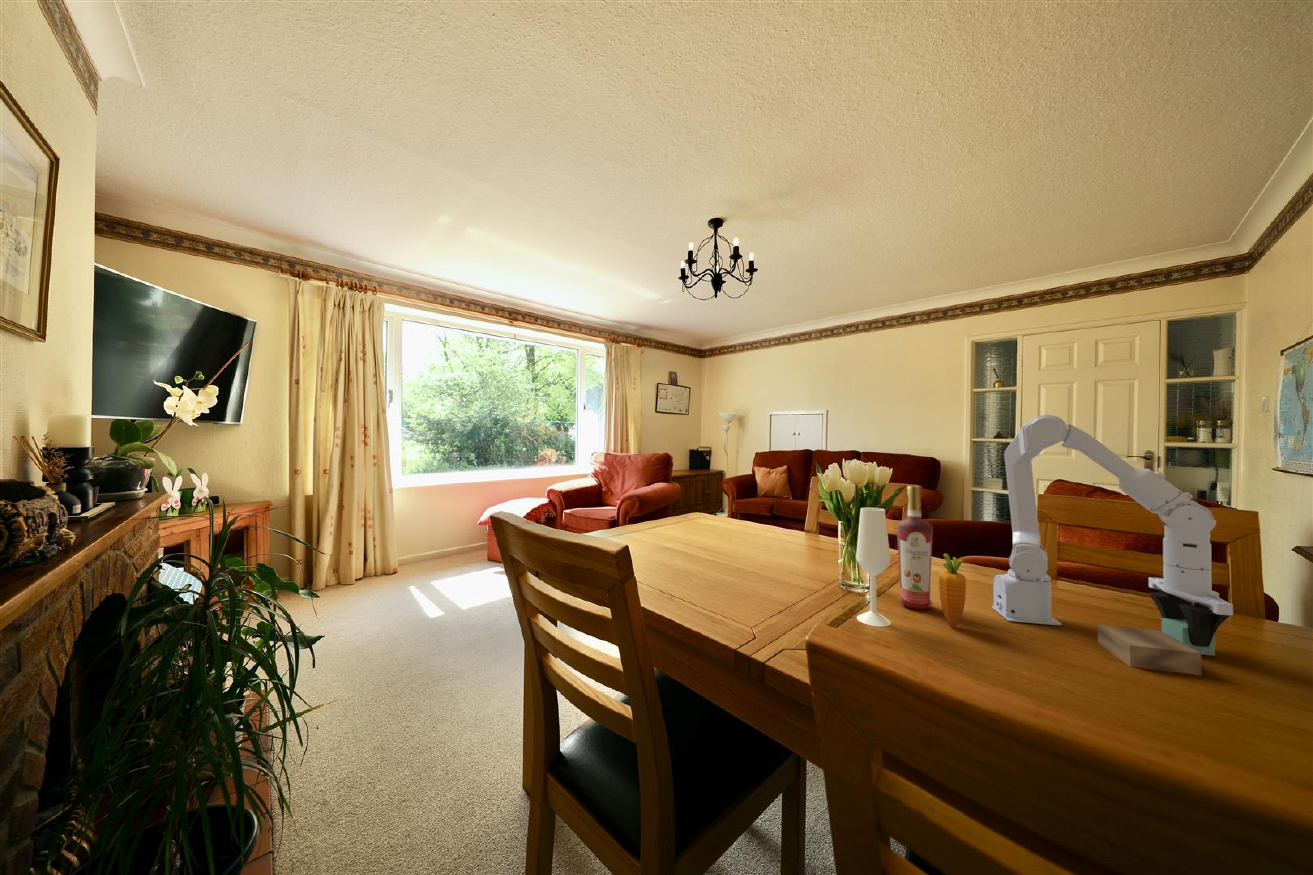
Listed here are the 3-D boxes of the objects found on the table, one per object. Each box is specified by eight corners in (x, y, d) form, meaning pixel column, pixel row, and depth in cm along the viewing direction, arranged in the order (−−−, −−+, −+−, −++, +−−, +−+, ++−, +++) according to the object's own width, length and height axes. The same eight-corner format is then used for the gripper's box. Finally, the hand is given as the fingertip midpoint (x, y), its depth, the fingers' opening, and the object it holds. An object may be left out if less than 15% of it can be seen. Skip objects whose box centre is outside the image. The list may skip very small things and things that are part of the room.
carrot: (972, 633, 88) (971, 558, 89) (944, 631, 89) (943, 557, 90) (960, 623, 93) (959, 552, 93) (934, 621, 94) (933, 551, 94)
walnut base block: (1130, 668, 75) (1129, 644, 75) (1097, 645, 84) (1097, 624, 84) (1201, 677, 72) (1201, 653, 72) (1160, 652, 81) (1160, 630, 81)
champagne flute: (873, 612, 100) (872, 506, 100) (898, 624, 93) (897, 510, 93) (849, 616, 98) (848, 507, 98) (873, 628, 91) (872, 512, 91)
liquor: (899, 609, 101) (898, 487, 101) (895, 598, 108) (894, 484, 108) (936, 614, 98) (935, 488, 98) (930, 602, 105) (929, 485, 105)
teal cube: (1182, 652, 80) (1182, 627, 80) (1161, 641, 84) (1161, 617, 84) (1215, 655, 79) (1214, 630, 79) (1192, 644, 83) (1191, 620, 83)
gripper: (1256, 579, 73) (1257, 661, 73) (1179, 557, 87) (1180, 625, 87) (1201, 576, 75) (1202, 655, 75) (1135, 554, 89) (1135, 621, 89)
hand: (1187, 639), depth 81 cm, fingers closed on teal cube, 4 cm apart
